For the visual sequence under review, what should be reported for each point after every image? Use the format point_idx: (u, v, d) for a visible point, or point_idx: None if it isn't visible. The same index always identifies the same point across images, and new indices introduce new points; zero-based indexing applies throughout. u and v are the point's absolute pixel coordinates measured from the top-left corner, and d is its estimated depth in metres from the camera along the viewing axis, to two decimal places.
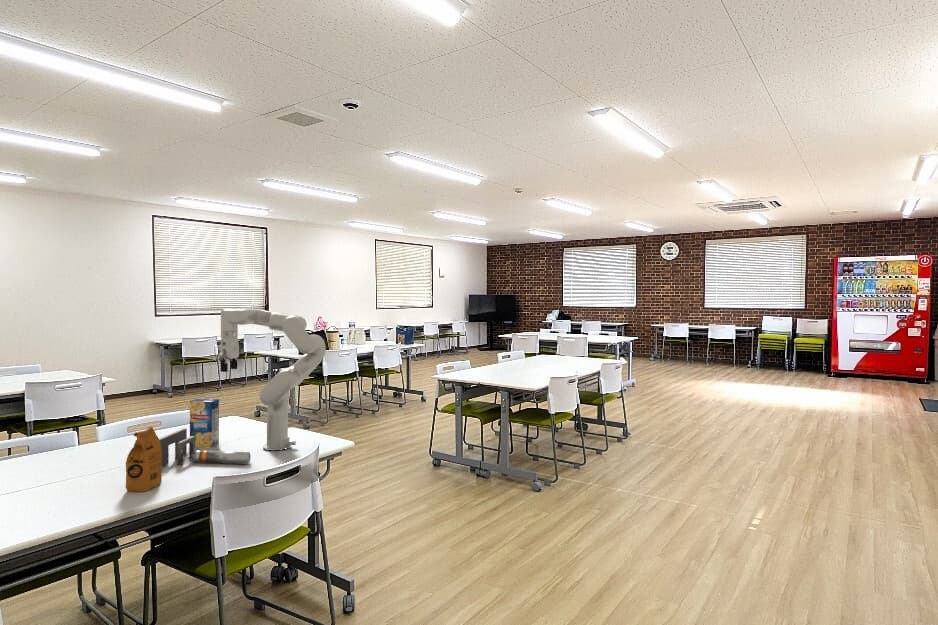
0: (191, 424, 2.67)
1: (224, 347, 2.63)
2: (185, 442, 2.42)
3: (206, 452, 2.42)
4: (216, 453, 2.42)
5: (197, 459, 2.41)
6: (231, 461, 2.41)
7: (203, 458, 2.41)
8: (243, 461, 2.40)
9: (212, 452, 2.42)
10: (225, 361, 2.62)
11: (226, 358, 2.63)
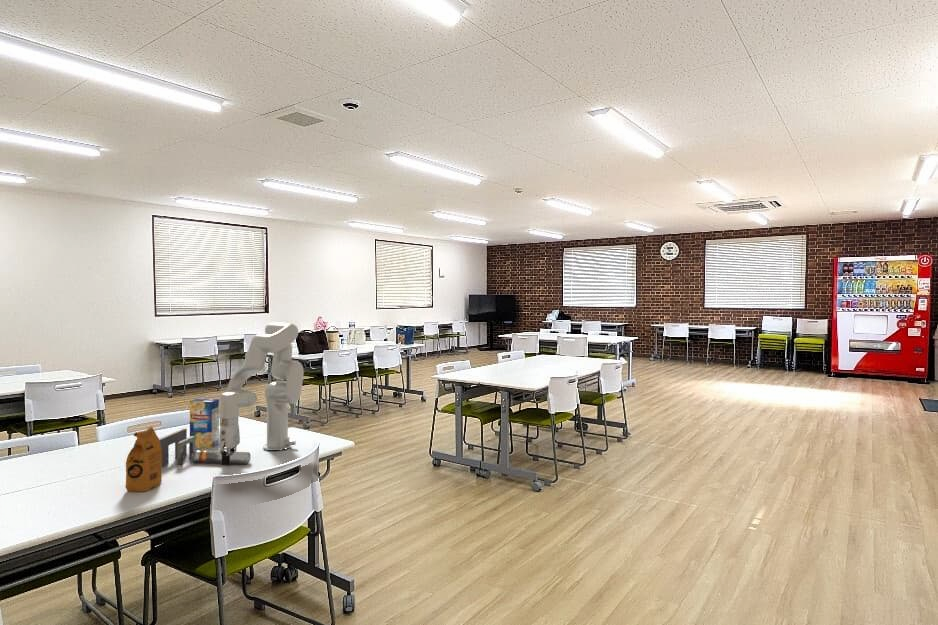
0: (191, 424, 2.67)
1: (223, 437, 2.38)
2: (185, 442, 2.42)
3: (206, 452, 2.42)
4: (216, 453, 2.42)
5: (197, 459, 2.41)
6: (231, 461, 2.41)
7: (203, 458, 2.41)
8: (243, 461, 2.40)
9: (212, 452, 2.42)
10: (227, 454, 2.39)
11: (227, 450, 2.39)
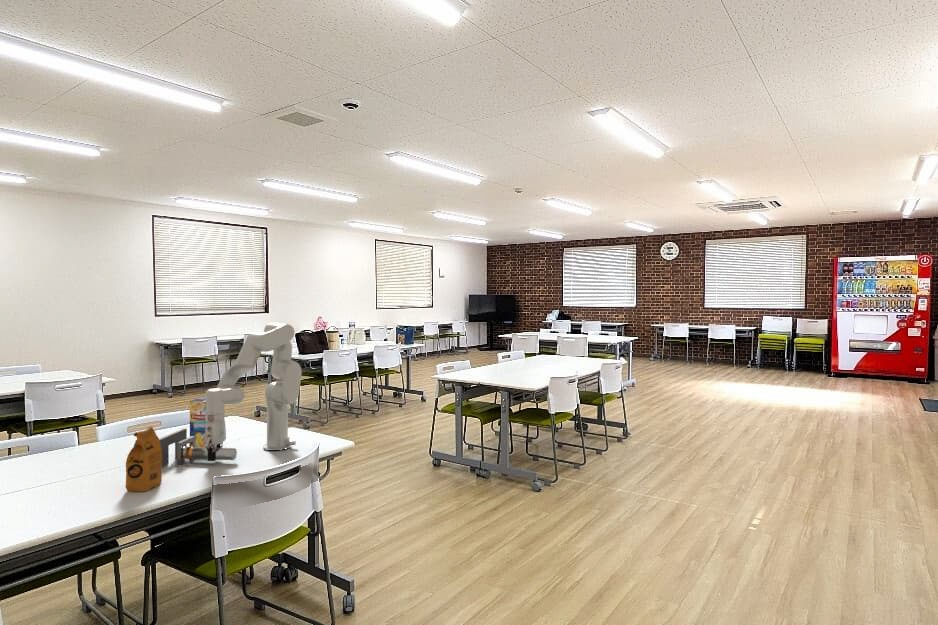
0: (191, 424, 2.67)
1: (209, 433, 2.38)
2: (185, 442, 2.42)
3: (192, 448, 2.43)
4: (202, 449, 2.42)
5: None
6: (217, 457, 2.41)
7: (189, 454, 2.41)
8: (229, 457, 2.41)
9: (198, 448, 2.42)
10: (212, 450, 2.39)
11: (213, 446, 2.39)
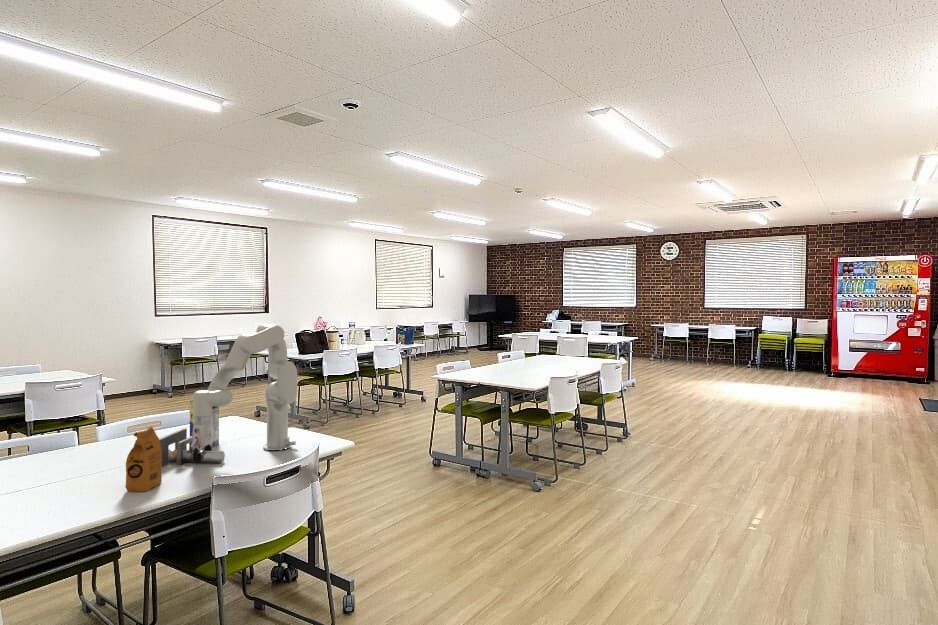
0: (191, 424, 2.67)
1: (196, 434, 2.38)
2: (185, 442, 2.42)
3: None
4: (190, 452, 2.43)
5: (170, 458, 2.42)
6: (205, 460, 2.41)
7: None
8: (217, 460, 2.41)
9: (186, 451, 2.43)
10: (198, 451, 2.38)
11: (199, 447, 2.39)
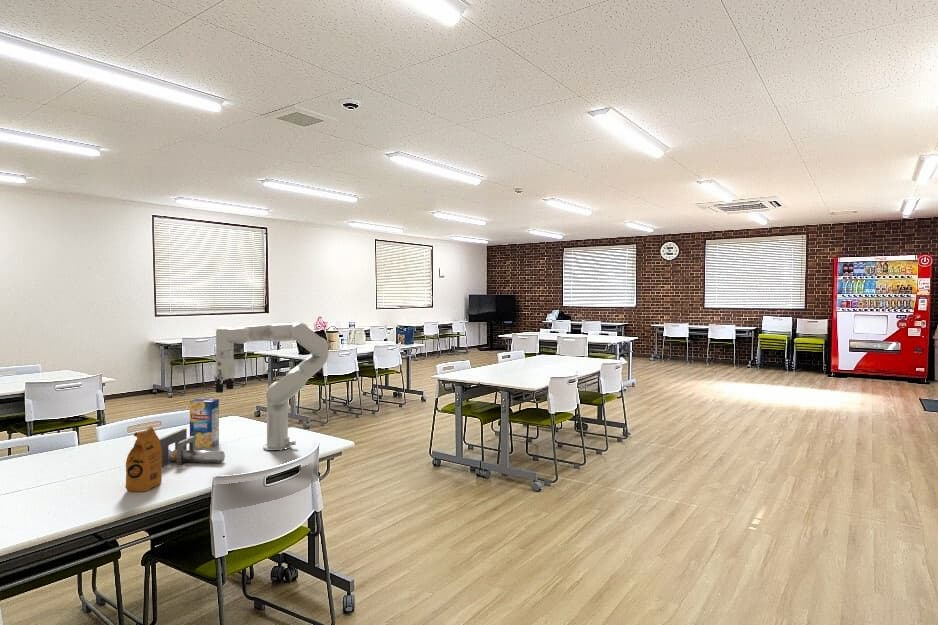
0: (191, 424, 2.67)
1: (219, 367, 2.55)
2: (185, 442, 2.42)
3: None
4: (190, 452, 2.43)
5: (170, 458, 2.42)
6: (205, 460, 2.41)
7: None
8: (217, 460, 2.41)
9: (186, 451, 2.43)
10: (220, 382, 2.54)
11: (221, 378, 2.56)
